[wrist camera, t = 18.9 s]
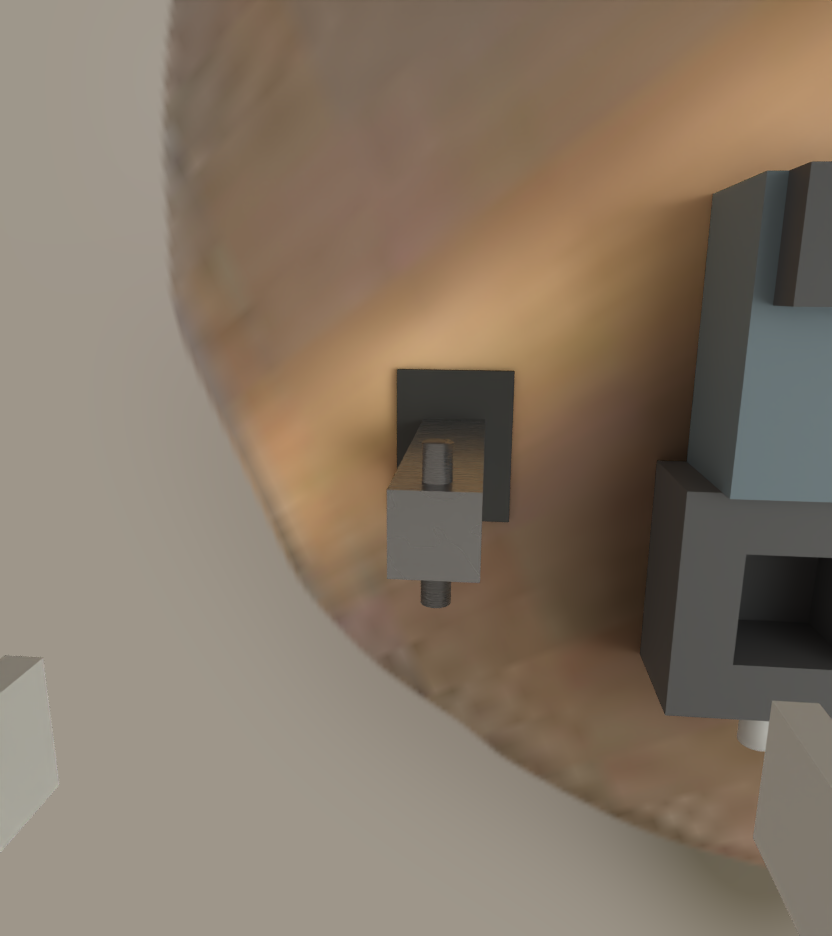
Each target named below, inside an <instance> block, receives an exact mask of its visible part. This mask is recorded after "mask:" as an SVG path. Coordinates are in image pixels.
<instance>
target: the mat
mask: <svg viewBox="0 0 832 936" xmlns="http://www.w3.org/2000/svg"><path fill="white" fill-rule="evenodd" d="M514 374H515V372H514V371H487V370H429V369H398V370H397V469H398V467H399V465H400V463H401V461H402V459H403V457H404V455H405V454H406V452H407V450H408V448H409V446H410V444H411V442H412V440H413V438H414V436H415V434H416V432H417V430H418V428H419V426H420V424H421V422H422V421H423V419H424V418H425V419H468V420H485V443H484V477H483V506H482V521H491V522H509V503H510V477H511V451H512V425H513V399H514Z"/></svg>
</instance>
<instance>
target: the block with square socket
mask: <svg viewBox="0 0 832 936" xmlns="http://www.w3.org/2000/svg"><path fill="white" fill-rule="evenodd" d="M640 655H641V658H642V660H643V663H644V665H645V667H646V670H647V672H648V675H649V677H650V680H651V682H652V684H653V687H654V689H655V692H656V694H657V697H658V699H659V701H660V704H661V706H662V709H663V711H664V714H665V715H670V716H687V717H704V718H721V719H737V720H739V724H738V732H737V739H738V741H739V742H740V743H741V744H743V745H744V746H746V747H748V748H750V749H753V750H757V751H765V749H766V741H767V734H768V727H769V720H770V713H771V705H772V701H788V702H804V703H819V704H820V705H821V706H822V707H823V709H824V710H825V711H826V712H827V714H828V715H829V716H830V718H831V719H832V161H831V162H810V163H807V164H805V165H802V166H800V167H797V168H795V169H792V170H790V171H766V172H763V173H761V174H759V175H756V176H754V177H752V178H749V179H747V180H745V181H742V182H740V183H738V184H735V185H733V186H731V187H728V188H726V189H724V190H721V191H719V192H717V193H714V194H713V198H712V208H711V219H710V229H709V239H708V249H707V260H706V270H705V280H704V290H703V300H702V311H701V321H700V331H699V341H698V352H697V362H696V372H695V382H694V393H693V403H692V413H691V423H690V434H689V444H688V454H687V461H657V466H656V477H655V488H654V500H653V511H652V523H651V534H650V545H649V557H648V568H647V580H646V591H645V602H644V614H643V625H642V637H641V648H640Z"/></svg>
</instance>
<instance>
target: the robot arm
mask: <svg viewBox="0 0 832 936" xmlns="http://www.w3.org/2000/svg"><path fill="white" fill-rule="evenodd" d="M58 786H59V776H58V769H57V761H56V753H55V745H54V738H53V731H52V722H51V714H50V706H49V699H48V691H47V683H46V675H45V668H44V660H43V658H39V657H22V656H6V655H5V656H4V657H2V658H1V659H0V853H1V852H2V850H3V849H4V848H5V847H6V846H7V845H8V844H9V842H10V841H11V840H12V839H13V838H14V837H15V836H16V834H17V833H18V832H19V831H20V830H21V829H22V827H23V826H24V825H25V824H26V823H27V822H28V821H29V819H30V818H31V817H32V816H33V815H34V813H36V811H37V810H38V809H39V808H40V807H41V805H42V804H43V803H44V802H45V801H46V800H47V799H48V797H49V796H50V795H51V794H52V793H53V792H54V791H55V790H56V788H57V787H58ZM753 839H754V841H755V843H756V845H757V847H758V849H759V852H760V854H761V856H762V858H763V860H764V862H765V864H766V866H767V868H768V870H769V873H770V875H771V877H772V879H773V881H774V883H775V885H776V887H777V889H778V891H779V894H780V896H781V898H782V900H783V902H784V904H785V906H786V909H787V911H788V913H789V915H790V917H791V919H792V921H793V923H794V925H795V928H796V930H797V932H798V934H799V936H832V719H831V718H830V716H829V715H828V714H827V712H826V711H825V710H824V709H823V707H822V706H821V705H820V704H819V703H804V702H788V701H772V705H771V713H770V720H769V727H768V734H767V741H766V749H765V756H764V763H763V770H762V778H761V785H760V792H759V799H758V806H757V814H756V821H755V828H754V835H753Z"/></svg>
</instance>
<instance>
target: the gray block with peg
mask: <svg viewBox="0 0 832 936" xmlns="http://www.w3.org/2000/svg"><path fill="white" fill-rule="evenodd" d="M484 443H485V420H468V419H425V418H424V419H423V421H422V422H421V424H420V426H419V428H418V430H417V432H416V434H415V436H414V438H413V440H412V442H411V444H410V446H409V448H408V450H407V452H406V454H405V455H404V457H403V459H402V461H401V463H400V465H399V467H398V469H397V471H396V473H395V475H394V477H393V479H392V481H391V483H390V485H389V487H388V488H387V579H404V580H421V604H422V605H424V606H426V607H430V608H442V607H446V606H448V605H449V604H450V603H451V582H471V583H480V565H481V535H482V506H483V477H484Z"/></svg>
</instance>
